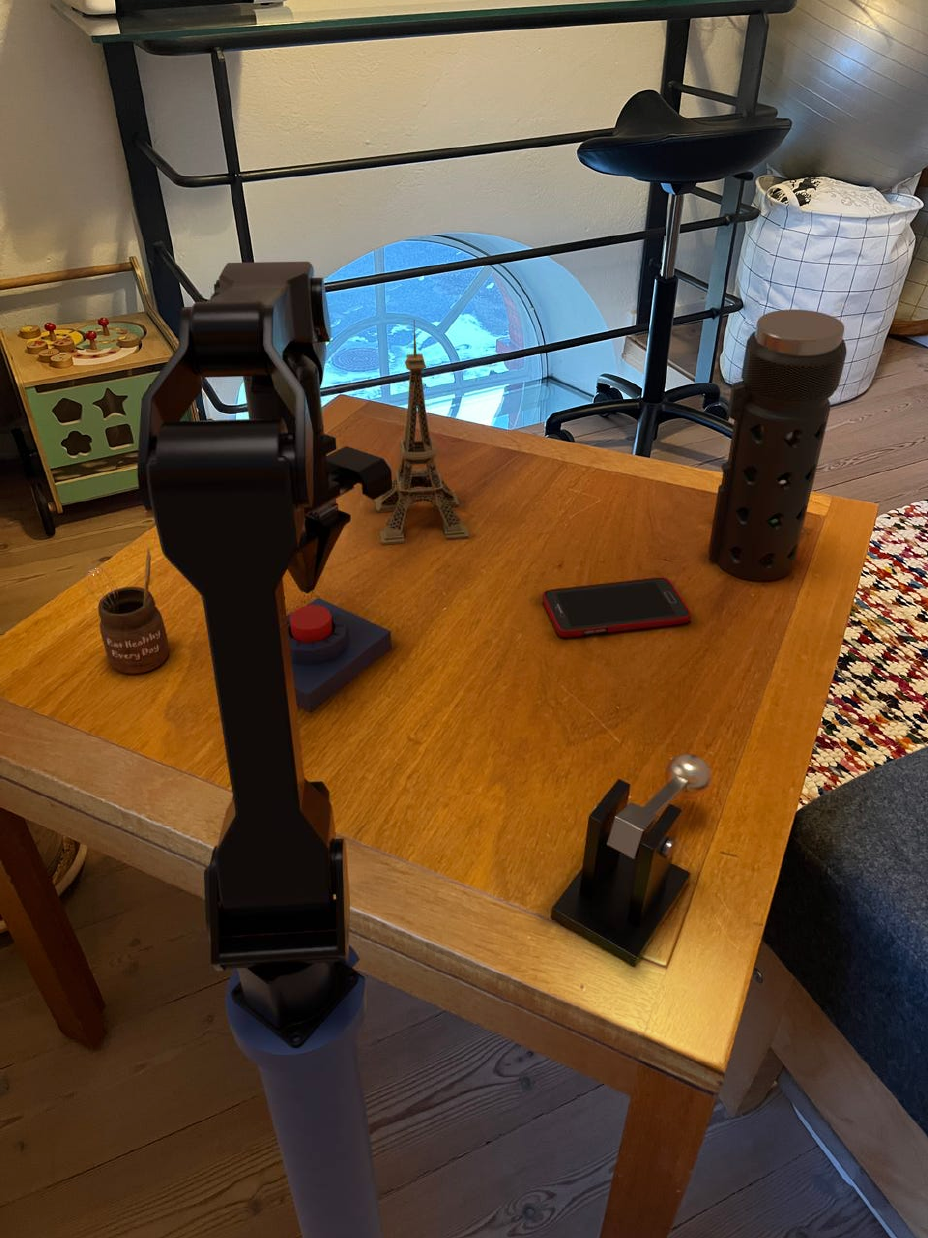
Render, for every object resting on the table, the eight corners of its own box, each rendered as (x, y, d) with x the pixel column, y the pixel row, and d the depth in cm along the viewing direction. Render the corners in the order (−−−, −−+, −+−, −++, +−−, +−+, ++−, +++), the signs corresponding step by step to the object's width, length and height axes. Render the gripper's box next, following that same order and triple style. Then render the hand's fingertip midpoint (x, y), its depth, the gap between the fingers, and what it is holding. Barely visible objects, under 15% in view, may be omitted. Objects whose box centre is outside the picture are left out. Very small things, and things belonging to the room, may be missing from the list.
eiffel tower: (381, 544, 109) (368, 339, 94) (375, 501, 118) (362, 306, 103) (468, 537, 111) (469, 334, 96) (456, 495, 119) (455, 302, 104)
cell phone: (693, 623, 97) (694, 616, 96) (559, 640, 94) (559, 632, 94) (666, 583, 103) (667, 575, 102) (539, 597, 100) (540, 590, 100)
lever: (670, 777, 76) (681, 740, 75) (710, 796, 74) (723, 759, 73) (595, 847, 65) (607, 804, 63) (641, 871, 63) (654, 828, 62)
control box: (310, 712, 86) (306, 679, 83) (236, 672, 90) (230, 640, 88) (391, 647, 94) (390, 616, 91) (320, 613, 98) (316, 583, 96)
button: (312, 648, 88) (311, 634, 87) (282, 633, 89) (280, 619, 88) (341, 628, 90) (339, 614, 89) (311, 614, 92) (309, 600, 91)
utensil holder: (107, 646, 94) (77, 547, 86) (170, 633, 95) (146, 535, 88) (111, 682, 89) (80, 580, 82) (177, 667, 91) (153, 566, 84)
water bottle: (714, 584, 103) (806, 582, 103) (754, 344, 85) (866, 341, 85) (697, 537, 110) (784, 535, 110) (731, 307, 93) (834, 304, 93)
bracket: (608, 840, 74) (621, 753, 68) (688, 882, 70) (709, 795, 65) (550, 918, 68) (558, 830, 62) (634, 968, 65) (652, 881, 59)
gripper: (296, 370, 82) (313, 521, 92) (125, 442, 70) (164, 608, 79) (392, 399, 77) (399, 556, 86) (225, 481, 65) (254, 655, 74)
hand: (306, 590), depth 82 cm, fingers closed
